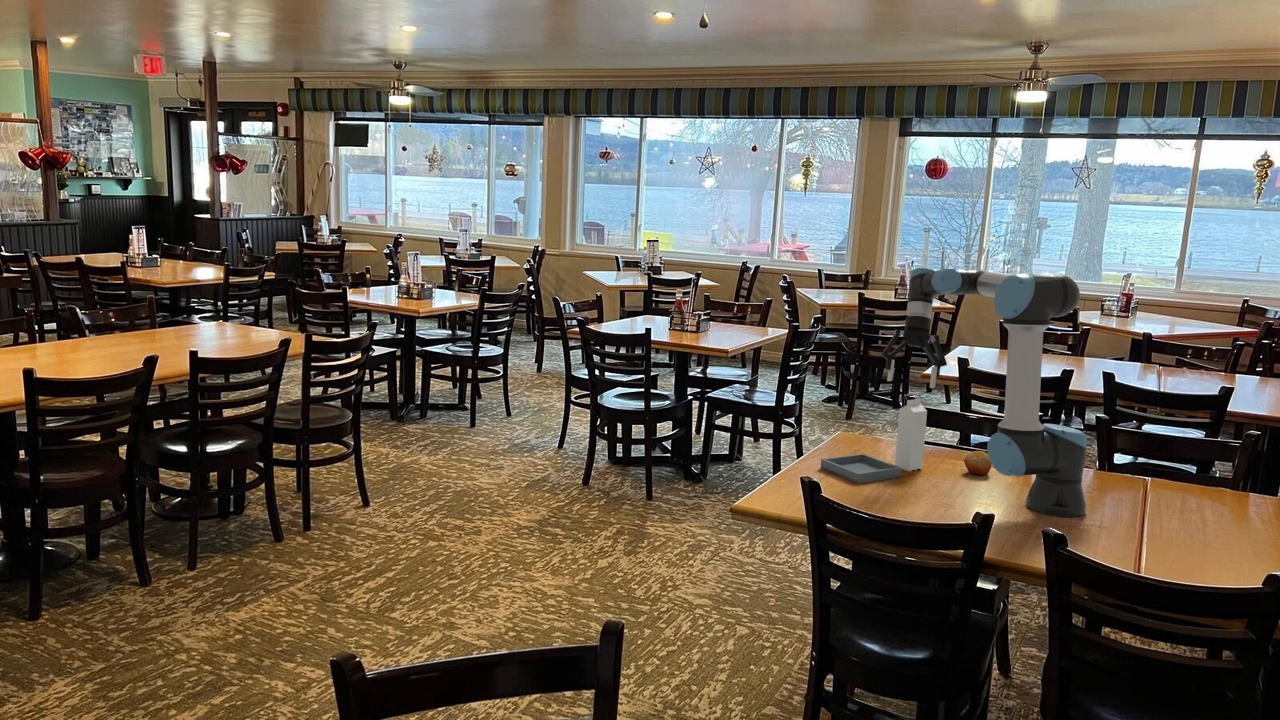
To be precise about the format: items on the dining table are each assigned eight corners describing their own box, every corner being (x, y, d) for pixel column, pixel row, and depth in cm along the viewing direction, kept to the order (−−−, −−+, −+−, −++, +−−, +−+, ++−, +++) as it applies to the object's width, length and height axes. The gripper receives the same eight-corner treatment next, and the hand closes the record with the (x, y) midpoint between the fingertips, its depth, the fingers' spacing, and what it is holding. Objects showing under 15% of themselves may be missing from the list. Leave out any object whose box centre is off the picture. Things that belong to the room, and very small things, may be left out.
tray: (900, 477, 284) (901, 467, 283) (857, 483, 276) (858, 474, 275) (862, 462, 299) (863, 453, 298) (820, 468, 291) (821, 459, 290)
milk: (894, 466, 295) (899, 398, 291) (908, 464, 298) (913, 396, 294) (909, 471, 290) (914, 402, 286) (922, 469, 293) (928, 400, 289)
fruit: (995, 467, 293) (994, 448, 288) (988, 484, 288) (988, 466, 283) (968, 462, 297) (967, 444, 293) (962, 479, 292) (960, 461, 288)
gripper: (952, 325, 297) (945, 391, 295) (875, 313, 296) (868, 379, 293) (962, 321, 290) (954, 389, 287) (883, 309, 289) (875, 376, 286)
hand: (911, 384), depth 290 cm, fingers open, 13 cm apart
